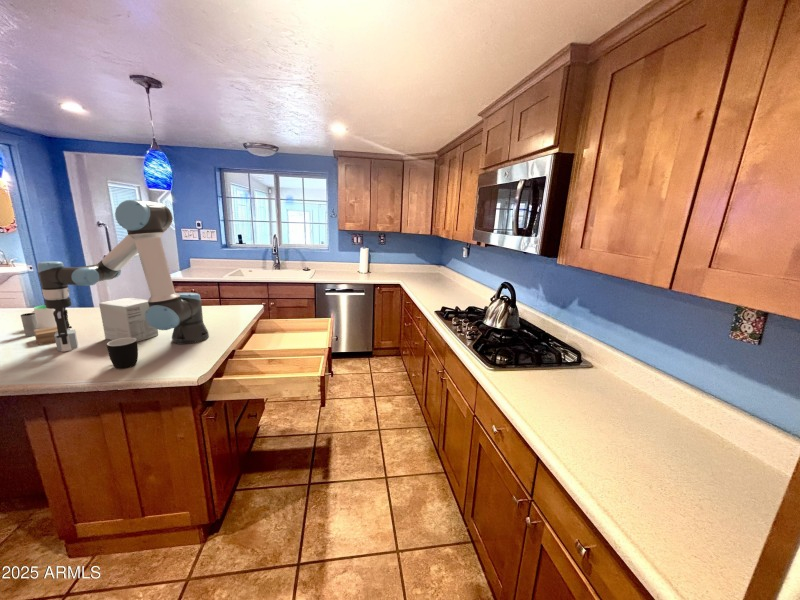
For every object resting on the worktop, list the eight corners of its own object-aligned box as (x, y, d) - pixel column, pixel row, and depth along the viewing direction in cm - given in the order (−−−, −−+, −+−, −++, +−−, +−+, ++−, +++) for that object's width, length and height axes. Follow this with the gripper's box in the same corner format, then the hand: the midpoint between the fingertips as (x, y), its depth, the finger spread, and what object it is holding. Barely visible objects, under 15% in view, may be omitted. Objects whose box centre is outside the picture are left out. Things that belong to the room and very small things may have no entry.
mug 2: (32, 331, 155) (28, 311, 152) (23, 329, 157) (18, 309, 155) (65, 325, 166) (60, 306, 163) (56, 322, 168) (51, 304, 166)
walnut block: (67, 340, 147) (65, 330, 146) (38, 345, 140) (35, 334, 139) (64, 335, 153) (62, 325, 151) (36, 340, 146) (33, 330, 144)
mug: (145, 363, 128) (141, 340, 125) (118, 372, 120) (114, 347, 117) (128, 357, 132) (125, 334, 130) (102, 365, 125) (97, 341, 122)
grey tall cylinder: (24, 335, 150) (19, 314, 148) (38, 332, 154) (34, 312, 152) (26, 337, 148) (21, 316, 145) (40, 334, 152) (36, 314, 149)
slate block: (77, 348, 139) (74, 333, 138) (57, 351, 135) (54, 335, 134) (78, 343, 143) (75, 329, 142) (58, 346, 139) (55, 332, 138)
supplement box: (159, 335, 158) (154, 300, 154) (131, 344, 146) (125, 306, 141) (134, 330, 162) (128, 296, 158) (104, 339, 150) (97, 302, 146)
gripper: (68, 302, 129) (78, 353, 134) (71, 292, 144) (80, 337, 150) (41, 304, 123) (52, 357, 129) (47, 293, 139) (57, 341, 144)
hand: (67, 346), depth 139 cm, fingers open, 10 cm apart
